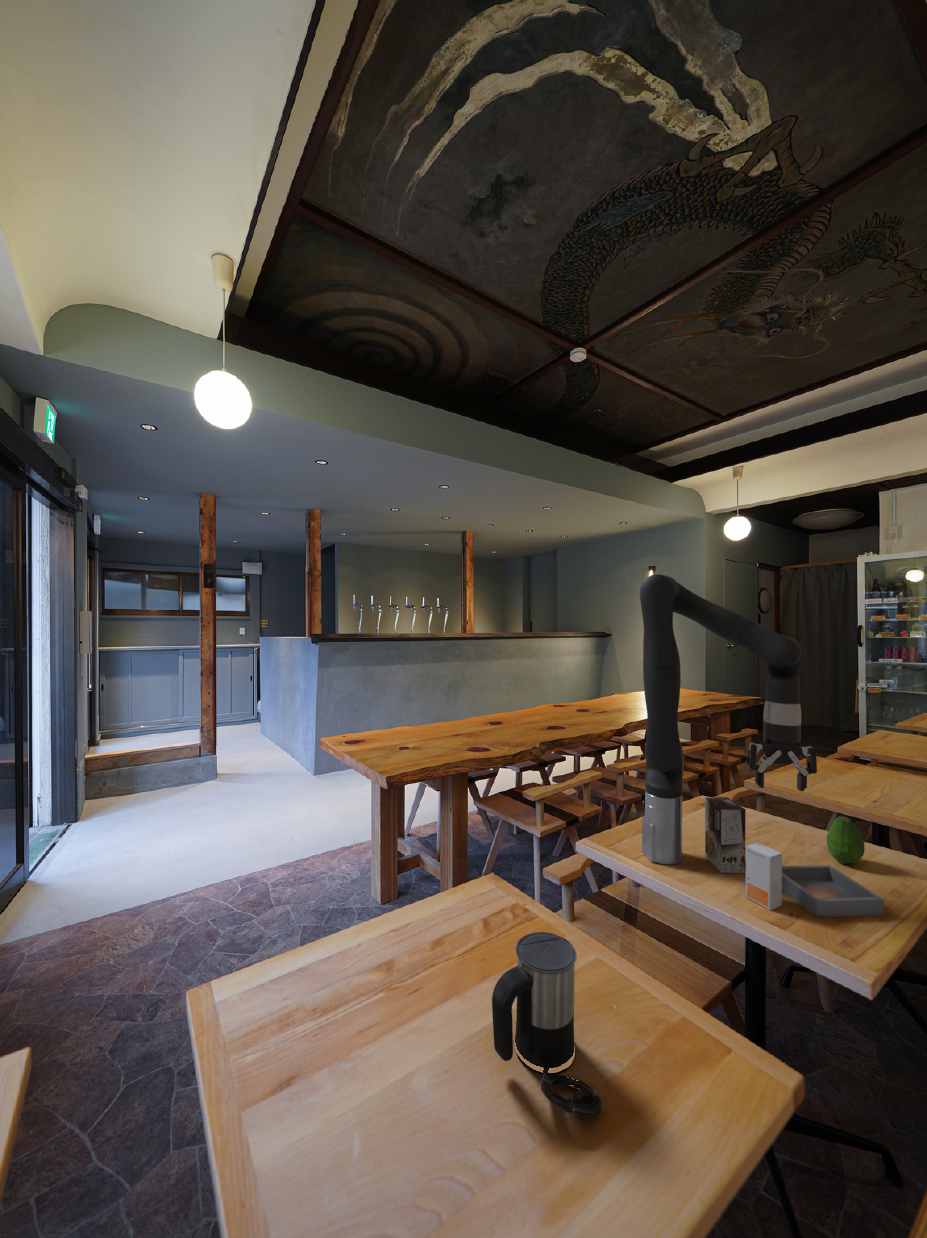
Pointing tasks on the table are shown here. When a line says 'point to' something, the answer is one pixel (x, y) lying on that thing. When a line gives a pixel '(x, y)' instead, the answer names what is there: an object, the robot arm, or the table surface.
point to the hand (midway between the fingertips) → (780, 788)
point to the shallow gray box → (829, 892)
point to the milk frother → (542, 1015)
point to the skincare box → (764, 876)
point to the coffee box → (725, 834)
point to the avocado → (845, 841)
